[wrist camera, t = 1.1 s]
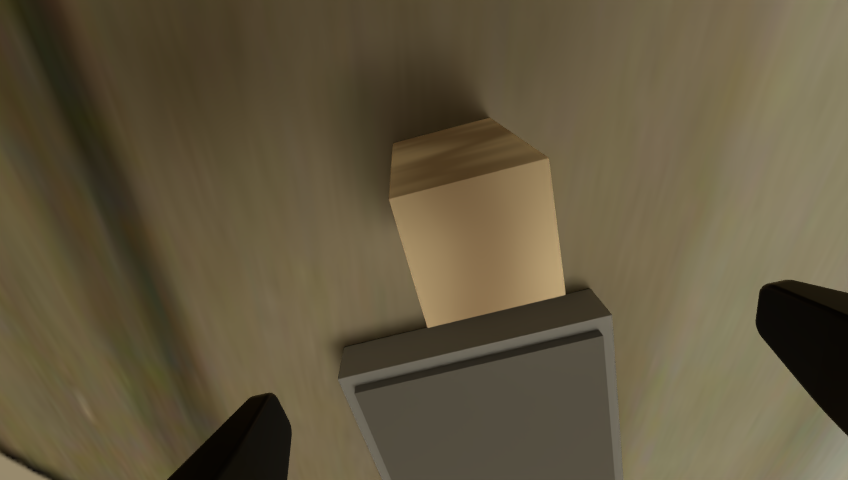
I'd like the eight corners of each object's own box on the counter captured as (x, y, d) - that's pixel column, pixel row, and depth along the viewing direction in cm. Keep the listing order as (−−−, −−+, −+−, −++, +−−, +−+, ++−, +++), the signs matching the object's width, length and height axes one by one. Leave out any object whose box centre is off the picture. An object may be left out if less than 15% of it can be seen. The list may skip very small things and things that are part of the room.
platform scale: (590, 288, 22) (616, 320, 20) (607, 477, 29) (629, 521, 26) (343, 347, 23) (336, 386, 20) (415, 519, 30) (416, 566, 27)
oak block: (489, 117, 18) (549, 158, 11) (505, 208, 20) (565, 294, 13) (393, 143, 19) (388, 199, 11) (417, 231, 20) (427, 327, 13)
